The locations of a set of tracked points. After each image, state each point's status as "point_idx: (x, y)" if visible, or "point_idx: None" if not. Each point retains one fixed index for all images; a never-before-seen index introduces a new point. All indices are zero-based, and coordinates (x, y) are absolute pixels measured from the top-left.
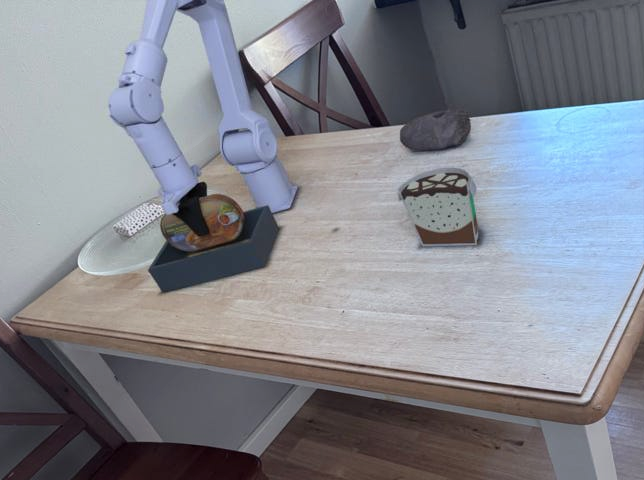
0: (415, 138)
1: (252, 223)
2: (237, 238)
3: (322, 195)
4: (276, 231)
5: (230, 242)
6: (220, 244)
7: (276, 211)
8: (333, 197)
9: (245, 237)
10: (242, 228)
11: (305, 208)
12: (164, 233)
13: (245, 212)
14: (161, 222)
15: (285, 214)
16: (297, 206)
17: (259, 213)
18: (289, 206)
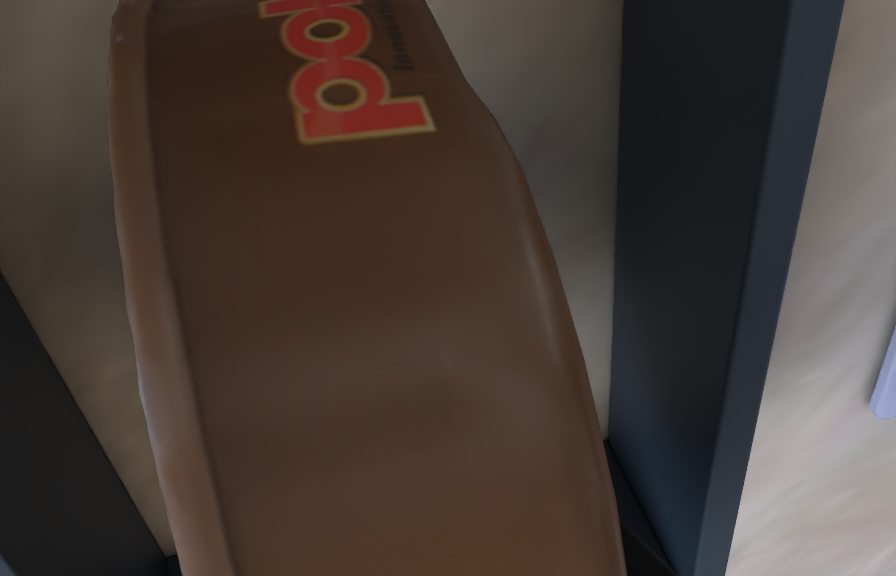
0: None
1: (655, 434)
2: (626, 230)
3: (884, 510)
4: None
5: (621, 152)
6: (626, 62)
7: (889, 346)
8: (809, 569)
9: (619, 281)
10: (655, 347)
11: (795, 488)
12: (173, 72)
13: (714, 506)
14: (184, 366)
15: (811, 404)
16: (864, 432)
17: (677, 546)
18: (878, 417)
